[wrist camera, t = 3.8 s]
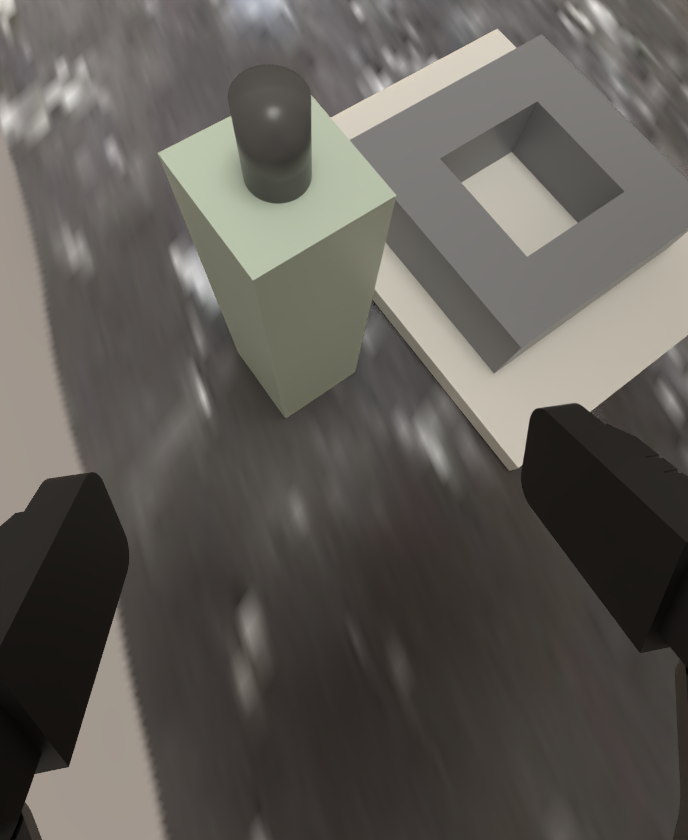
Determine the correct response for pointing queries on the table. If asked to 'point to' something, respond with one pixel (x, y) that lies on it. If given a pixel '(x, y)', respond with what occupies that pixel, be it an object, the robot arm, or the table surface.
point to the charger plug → (284, 232)
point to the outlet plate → (523, 233)
